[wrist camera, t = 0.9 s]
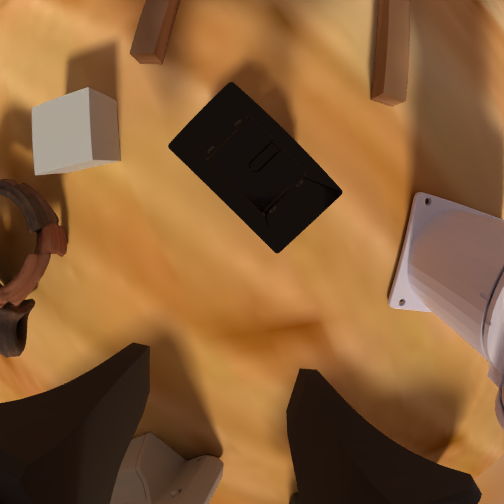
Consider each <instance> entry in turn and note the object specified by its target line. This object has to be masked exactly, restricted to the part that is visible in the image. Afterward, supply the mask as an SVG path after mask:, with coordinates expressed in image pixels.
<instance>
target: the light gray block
mask: <svg viewBox="0 0 504 504" xmlns="http://www.w3.org/2000/svg"><path fill="white" fill-rule="evenodd" d="M32 141H33V158H34V170H35V175H46V174H59V173H70V172H74V171H78V170H82V169H87V168H91V167H95V166H100V165H104V164H109V163H114V162H118V161H121V156H120V145H119V133H118V117H117V100H115V99H113V98H111V97H109V96H107V95H105V94H103V93H101V92H98V91H96V90H94V89H92V88H90V87H87V88H84V89H81V90H78V91H75V92H72V93H69V94H66V95H64V96H61V97H58V98H55V99H53V100H50V101H48V102H45V103H43V104H40V105H38V106H35V107H33V108H32Z"/></svg>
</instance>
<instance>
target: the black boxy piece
mask: <svg viewBox="0 0 504 504" xmlns="http://www.w3.org/2000/svg"><path fill="white" fill-rule="evenodd" d="M168 147H169V149H170V150H171V151H172V152H173V153H174V154H175V155H176V156H178V157H179V158H180V159H181V160H182V161H183V162H184V163H185V164H186V165H187V166H188V167H189V168H190V169H191V170H192V171H193V172H194V173H195V174H196V175H197V176H198V177H199V178H200V179H201V180H202V181H203V182H204V183H205V184H206V185H207V186H208V187H209V188H210V189H211V190H212V191H213V192H214V193H215V194H216V195H218V196H219V197H220V198H221V199H222V200H223V201H224V202H225V203H226V204H227V205H228V206H229V207H230V208H231V209H232V210H233V211H234V212H235V213H236V214H237V215H238V216H239V217H240V218H241V219H242V220H243V221H244V222H245V223H246V224H247V225H248V226H249V227H250V228H251V229H252V230H253V231H254V232H255V233H256V234H257V235H258V236H259V237H260V238H261V239H262V240H263V241H264V242H265V243H266V244H267V245H268V246H269V247H270V248H271V249H272V250H273V251H274V252H275V253H279V252H281V251H282V250H283V249H284V248H285V247H286V246H287V245H288V244H289V243H290V242H291V241H292V240H294V239H295V238H296V237H297V236H298V235H299V234H300V233H301V232H302V231H303V230H304V229H305V228H306V227H308V226H309V225H310V224H311V223H312V222H313V221H314V220H315V219H316V218H317V217H318V216H319V215H320V214H321V213H322V212H324V211H325V210H326V209H327V208H328V207H329V206H330V205H331V204H332V203H333V202H334V201H335V200H336V199H337V198H338V197H339V196H341V195H342V190H341V189H340V188H339V187H338V185H337V184H336V183H335V182H334V181H333V180H332V179H331V178H330V177H329V176H328V174H327V173H326V172H325V171H324V170H323V169H322V168H321V167H320V166H319V165H318V164H317V163H316V162H315V161H314V160H313V158H312V157H311V156H310V155H309V154H308V153H307V152H306V151H305V150H304V149H303V148H302V147H301V146H300V145H299V144H298V143H297V142H296V141H295V140H294V139H293V138H292V137H291V136H290V135H289V134H288V133H287V132H286V131H285V130H284V129H283V128H282V127H281V126H280V125H279V124H278V123H277V122H276V121H275V120H274V119H273V118H271V117H270V116H269V115H268V114H267V113H266V112H265V111H264V110H263V109H262V108H261V107H260V106H259V105H258V104H257V103H255V102H254V101H253V100H252V99H251V98H250V97H249V96H248V95H247V94H246V93H244V92H243V91H242V90H241V89H240V88H239V87H238V86H237V85H235V84H234V83H233V82H230V83H228V84H227V85H226V86H225V87H224V88H223V89H222V90H221V91H220V92H219V93H218V94H217V95H216V96H215V97H214V98H213V99H212V100H211V101H210V102H209V103H208V104H207V105H206V106H205V107H204V108H203V109H202V110H201V111H200V112H199V113H198V114H197V115H196V116H195V117H194V118H193V119H192V120H191V121H190V122H189V123H188V124H187V125H186V126H185V127H184V128H183V129H182V130H181V132H180V133H179V134H178V135H177V136H176V137H175V138H174V139H173V140H172V141H171V142H170V144H169V145H168Z"/></svg>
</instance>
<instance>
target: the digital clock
mask: <svg viewBox="0 0 504 504" xmlns="http://www.w3.org/2000/svg"><path fill="white" fill-rule="evenodd" d="M222 474H223V462H222V461H221V460H220V459H219V458H217V457H214V456H210V455H203V456H199V457H196V458H193V459H190V460H185V459H184V458H183V457H181V456H180V455H179V454H178V453H176V452H175V451H174V450H172V449H171V448H170V447H169V446H168V445H166V444H165V443H164V442H163V441H161V440H160V439H159V438H158V437H157V436H155V435H154V434H153V433H151V432H149V433H147V434H144V435H142V436H139V437H136V438H134V439H132V440H131V442H130V444H129V446H128V449H127V451H126V453H125V456H124V458H123V460H122V463H121V466H120V468H119V471H118V475H117V478H116V482H115V486H114V489H113V493H112V497H111V501H110V504H209V502H210V500H211V498H212V496H213V494H214V492H215V490H216V488H217V486H218V484H219V482H220V480H221V478H222Z"/></svg>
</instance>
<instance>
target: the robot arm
mask: <svg viewBox="0 0 504 504" xmlns="http://www.w3.org/2000/svg"><path fill="white" fill-rule="evenodd" d="M426 198H428V204H427V205H426V204H425V200H426ZM401 299H403V301H402V303H401V304H399V301H400V300H401ZM388 304H389V305H390V306H391V307H392V308H396V309H405V310H415V311H425V312H433V313H434V314H435V315H437V316H438V317H439V318H440V319H441V320H442V321H444V322H445V323H446V324H447V325H448V326H449V327H451V328H452V329H453V330H454V331H455V332H456V333H457V334H458V335H460V336H461V337H462V338H463V339H464V340H465V341H466V342H467V343H469V344H470V345H471V346H472V347H473V348H474V349H475V350H476V351H477V352H478V353H480V354H481V355H482V356H483V357H484V358H485V359H486V360H487V361H488V362H489V373H488V377H489V378H490V379H491V380H492V381H493V382H494V383H495V384H496V385H497V386H498V387H499V390H498V393H497V396H496V400H495V411H496V416H497V419H498V422H499V424H500V425H501V427H502V429H503V430H504V220H502V219H500V218H497V217H495V216H492V215H489V214H487V213H484V212H481V211H478V210H475V209H473V208H470V207H467V206H464V205H461V204H458V203H455V202H452V201H449V200H446V199H443V198H440V197H437V196H433V195H430V194H427V193H424V192H417V193H416V194H415V196H414V199H413V204H412V209H411V214H410V218H409V223H408V227H407V232H406V236H405V240H404V244H403V248H402V252H401V256H400V260H399V264H398V267H397V271H396V275H395V278H394V282H393V285H392V288H391V292H390V295H389V298H388ZM149 357H150V346H146V345H142V344H137V343H132V344H130V345H129V346H127V347H126V348H124V349H123V350H121V351H120V352H118V353H117V354H115V355H114V356H112V357H111V358H109V359H108V360H106V361H105V362H103V363H102V364H100V365H98V366H97V367H95V368H94V369H92V370H90V371H88V372H87V373H85V374H83V375H81V376H79V377H78V378H76V379H74V380H72V381H70V382H68V383H66V384H64V385H61V386H59V387H56V388H54V389H52V390H49V391H46V392H43V393H40V394H37V395H33V396H30V397H27V398H24V399H20V400H15V401H10V402H5V403H0V504H110V501H111V497H112V493H113V489H114V486H115V482H116V478H117V475H118V471H119V468H120V466H121V463H122V460H123V458H124V456H125V453H126V451H127V449H128V446H129V444H130V442H131V440H132V437H133V435H134V433H135V431H136V428H137V426H138V424H139V422H140V419H141V417H142V415H143V412H144V409H145V405H146V402H147V398H148V395H149V391H150V381H149ZM286 412H287V434H288V440H289V445H290V450H291V456H292V461H293V466H294V471H295V476H296V481H297V487H298V495H299V504H478V502H479V501H480V498H481V495H482V493H481V492H480V490H479V488H478V487H477V485H476V483H475V482H474V480H473V478H472V476H471V475H470V474H468V473H464V472H461V471H457V470H454V469H451V468H447V467H444V466H442V465H439V464H437V463H434V462H432V461H429V460H427V459H425V458H423V457H421V456H419V455H417V454H415V453H413V452H411V451H409V450H407V449H406V448H404V447H402V446H401V445H399V444H397V443H396V442H394V441H393V440H391V439H390V438H388V437H387V436H385V435H384V434H383V433H381V432H380V431H378V430H377V429H376V428H375V427H373V426H372V425H371V424H370V423H368V422H367V421H366V420H365V419H364V418H363V417H362V416H361V415H359V414H358V413H357V412H356V411H355V410H354V409H353V408H352V407H351V406H350V405H349V404H348V403H347V402H346V401H345V400H344V399H343V398H342V397H341V396H340V395H339V394H338V393H337V391H336V390H335V389H334V388H333V387H332V386H331V385H330V384H329V383H328V382H327V380H326V379H325V378H324V377H323V376H322V375H321V374H320V373H319V372H318V371H317V370H312V369H299V373H298V376H297V379H296V382H295V386H294V389H293V392H292V395H291V398H290V401H289V404H288V407H287V411H286Z"/></svg>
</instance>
